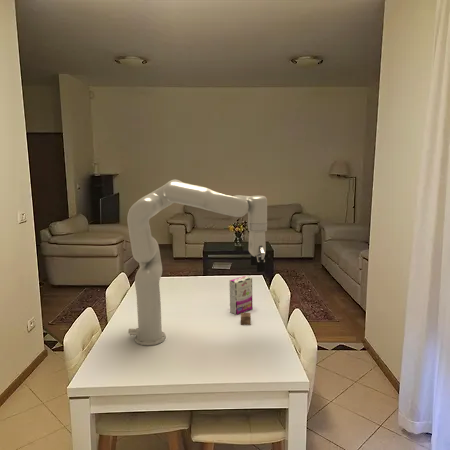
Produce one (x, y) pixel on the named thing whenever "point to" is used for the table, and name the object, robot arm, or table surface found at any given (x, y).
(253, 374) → the table surface
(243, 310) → the candy bar box
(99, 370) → the table surface
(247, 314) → the walnut block
